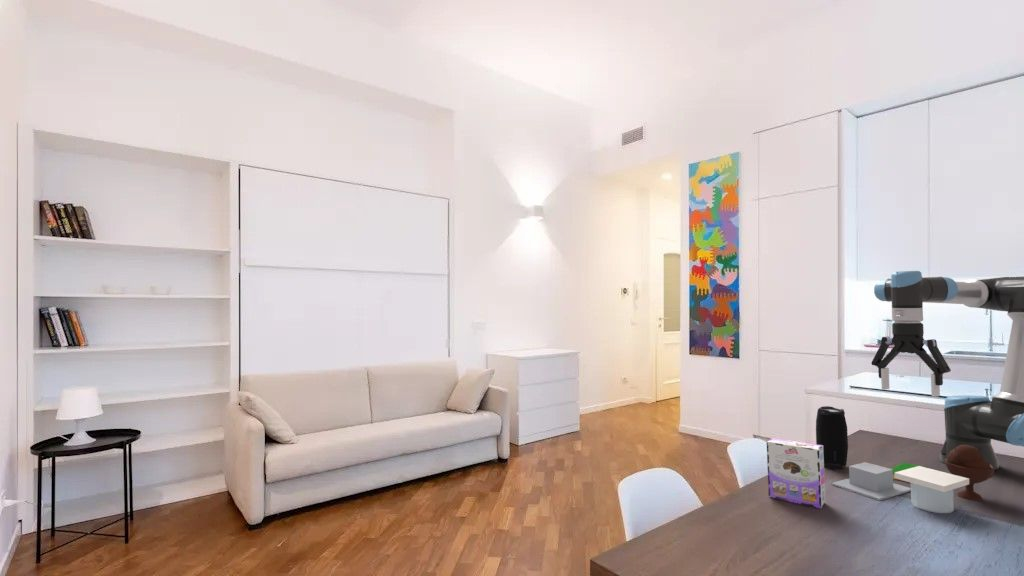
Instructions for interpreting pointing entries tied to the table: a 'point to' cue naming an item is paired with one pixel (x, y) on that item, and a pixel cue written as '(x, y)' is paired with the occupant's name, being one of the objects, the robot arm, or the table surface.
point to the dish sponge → (903, 468)
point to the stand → (872, 481)
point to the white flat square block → (932, 478)
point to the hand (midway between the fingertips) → (909, 392)
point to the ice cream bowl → (969, 468)
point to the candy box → (796, 472)
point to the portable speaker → (832, 436)
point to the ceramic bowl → (931, 499)
